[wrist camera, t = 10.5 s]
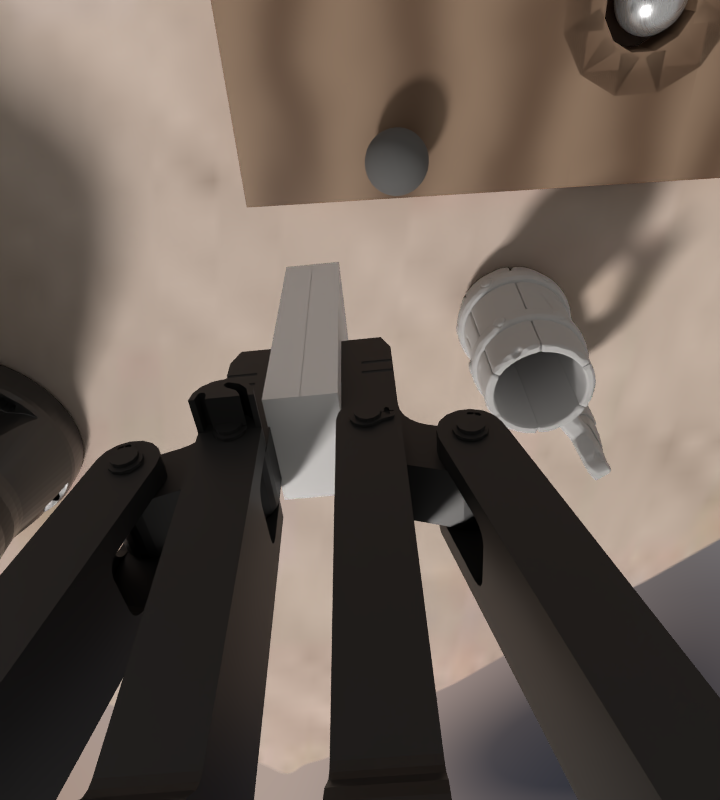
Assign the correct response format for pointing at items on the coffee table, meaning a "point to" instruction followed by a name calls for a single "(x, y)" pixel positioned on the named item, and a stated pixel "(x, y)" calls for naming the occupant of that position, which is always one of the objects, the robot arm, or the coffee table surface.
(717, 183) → the coffee table surface
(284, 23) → the deck
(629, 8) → the steel ball
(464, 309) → the mug
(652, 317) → the coffee table surface
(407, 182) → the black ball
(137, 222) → the coffee table surface
